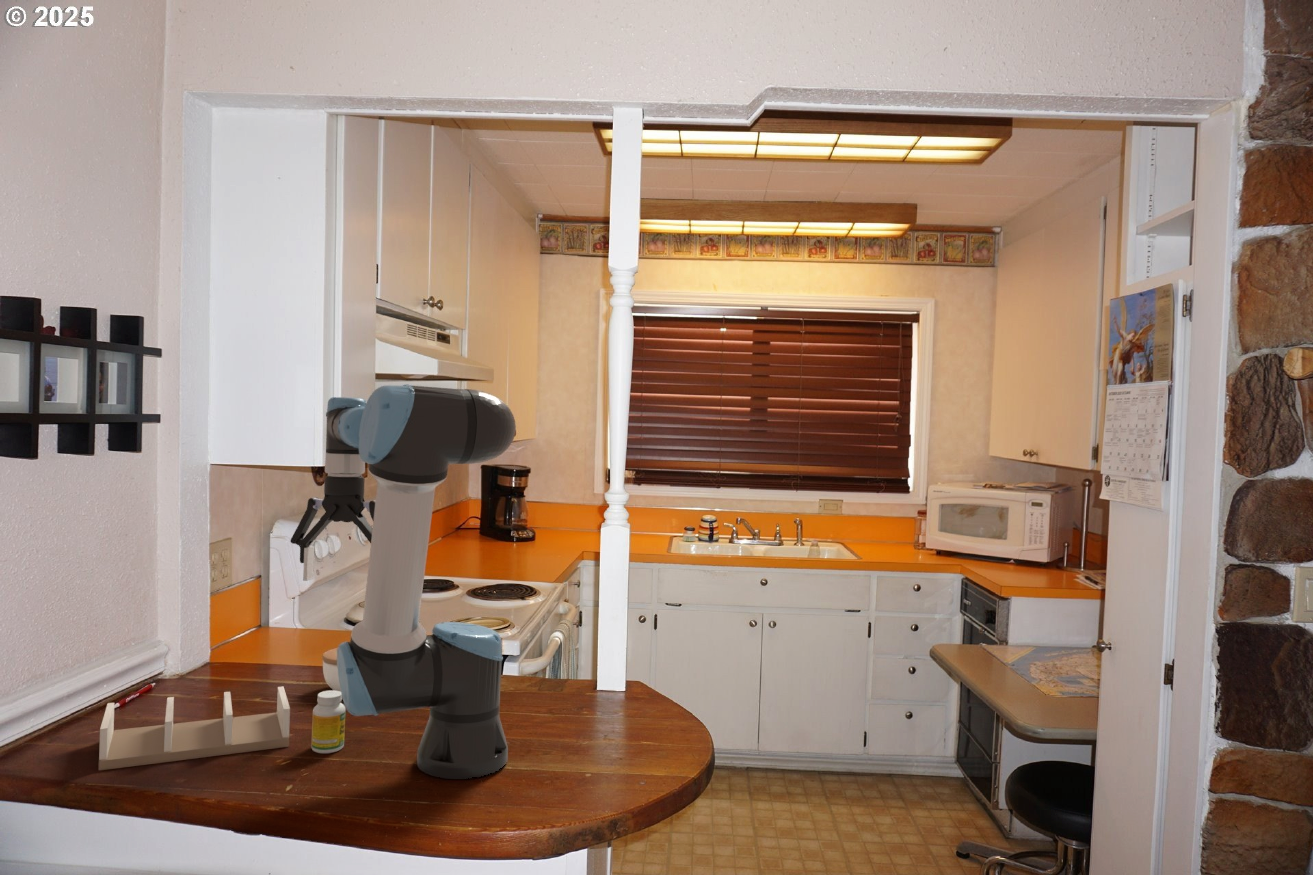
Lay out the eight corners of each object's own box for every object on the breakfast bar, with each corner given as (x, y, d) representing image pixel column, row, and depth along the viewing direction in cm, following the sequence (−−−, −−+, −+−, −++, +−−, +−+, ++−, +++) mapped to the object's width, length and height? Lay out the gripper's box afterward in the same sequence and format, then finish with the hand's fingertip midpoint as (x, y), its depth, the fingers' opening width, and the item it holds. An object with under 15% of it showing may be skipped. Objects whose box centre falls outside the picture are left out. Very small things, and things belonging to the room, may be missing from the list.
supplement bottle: (311, 743, 153) (313, 689, 152) (343, 741, 154) (346, 687, 154) (310, 755, 148) (312, 699, 147) (344, 752, 149) (346, 697, 149)
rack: (288, 746, 151) (290, 709, 151) (98, 770, 138) (99, 729, 138) (282, 719, 163) (283, 685, 163) (106, 739, 150) (107, 702, 150)
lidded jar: (348, 701, 175) (350, 655, 175) (309, 691, 180) (311, 647, 179) (386, 687, 185) (387, 643, 184) (348, 678, 189) (349, 636, 189)
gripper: (412, 476, 175) (408, 581, 175) (293, 471, 177) (290, 575, 177) (398, 478, 168) (395, 587, 168) (274, 473, 170) (271, 581, 170)
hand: (341, 581), depth 173 cm, fingers open, 13 cm apart
